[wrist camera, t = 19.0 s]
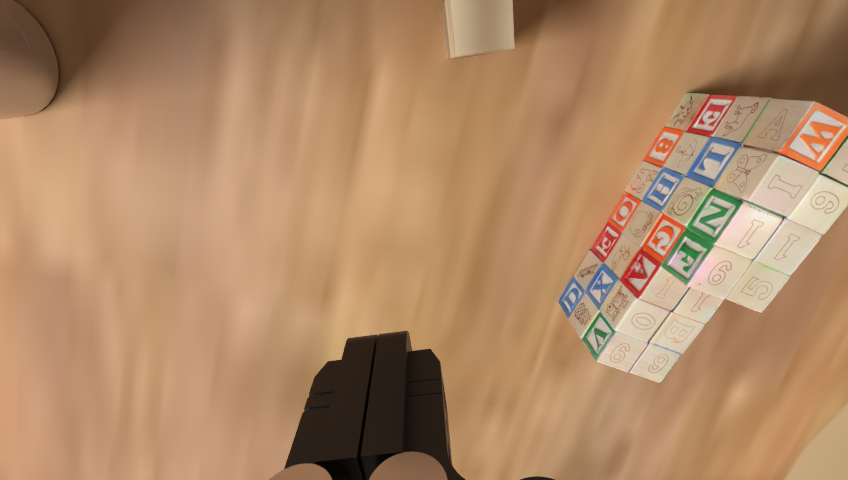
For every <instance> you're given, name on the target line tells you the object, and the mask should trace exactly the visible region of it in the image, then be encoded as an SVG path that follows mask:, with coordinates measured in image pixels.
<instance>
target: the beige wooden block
mask: <svg viewBox="0 0 848 480" xmlns="http://www.w3.org/2000/svg"><path fill="white" fill-rule="evenodd" d="M442 19H443V29H444V39H445V49H446V59H447V60H448V59H456V58H463V57H470V56H477V55H484V54H491V53H496V52H501V51H505V50H510V49H515V47H514V23H513V0H445V2H444V5H443V7H442Z"/></svg>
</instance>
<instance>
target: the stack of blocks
mask: <svg viewBox="0 0 848 480" xmlns="http://www.w3.org/2000/svg"><path fill="white" fill-rule="evenodd" d="M847 206H848V117H846V116H844V115H842V114H840V113H838V112H836V111H834V110H832V109H830V108H828V107H826V106H824V105H822V104H820V103H818V102H815V101H804V100H787V99H775V98H772V97H753V96H731V95H709V94H701V93H686V94H685V95H684V97H683V98H682V100H681V102H680V103H679V105H678V107H677V108H676V110H675V111H674V113H673V115H672V116H671V118H670V119H669V121H668V123H667V124H666V126H665V127H664V128H663V129H662V131H661V132H660V134H659V136H658V137H657V139H656V140H655V142H654V144H653V145H652V147H651V149H650V150H649V152H648V153H647V155H646V157H645V158H644V161H643V162H642V163H641V165H640V166H639V168H638V169H637V171H636V173H635V174H634V176H633V178H632V179H631V181H630V183H629V184H628V186H627V187H626V189H625V193H624V195H623V196H622V198H621V200H620V201H619V203H618V205H617V206H616V208H615V210H614V211H613V213H612V215H611V216H610V218H609V219H608V223H607V224H606V226H605V227H604V229H603V230H602V232H601V233H600V235H599V237H598V239H597V240H596V242H595V243H594V245H593V247H592V249H591V250H590V251H588V253H587V255H586V256H585V258H584V260H583V261H582V263H581V265H580V266H579V268H578V270H577V271H576V273H575V275H574V277H573V278H572V280H571V281H570V283H569V285H568V286H567V288H566V290H565V291H564V293H563V295H562V296H561V298H560V300H559V304H560V305H561V307H562V309H563V311H564V312H565V314H566V316H567V317H568V318H569V321H570V323H571V324H572V326H573V327H574V329H575V331H576V332H577V334H578V336H579V337H580V338H581V339H582V340H583V342H584V343H585V345H586V347H587V348H588V350H589V351H590V353H591V354H592V356H593V357H594V359H595V361H597V362H599V363H602V364H605V365H608V366H611V367H614V368H616V369H619V370H622V371H625V372H630V373H632V374H635V375H638V376H641V377H644V378H647V379H649V380H653V381H655V382H658V383H660V382H661V381H662V380H663V379H664V377H665V376H666V375H667V373H668V372H669V370H670V369H671V368H672V367H673V365H674V364H675V363H676V361H677V360H678V359H679V357H680V354H683V353H684V352H685V351H686V349H687V348H688V347H689V345H690V344H691V343H692V341H693V340H694V339H695V337H696V336H697V335H698V333H699V332H700V331H701V330H702V328H703V327H704V324H705V323H707V322H708V321H709V320H710V318H711V317H712V315H713V314H714V313H715V311H716V310H717V309H718V307H719V306H720V304H721V303H722V302H723V300H724V299H726V300H729V301H731V302H734V303H737V304H739V305H741V306H744V307H747V308H749V309H751V310H754V311H756V312H759V313H762V312H763V310H764V309H765V308H766V307H767V306H768V304H769V303H770V302H771V301H772V300H773V298H774V297H775V296H776V294H777V293H778V292H779V291H780V290H781V288H782V287H783V286H784V284H785V283H786V282H787V281H788V279H789V278H790V275H791V274H792V273H793V272H794V271H795V270H796V269H797V268H798V267H799V265H800V264H801V263H802V261H803V260H804V259H805V258H806V256H807V255H808V254H809V252H810V251H811V250H812V249H813V248H814V246H815V245H816V244H817V242H818V241H819V240H820V238H821V236H822V235H824V234H825V233H826V232H827V231H828V229H829V228H830V227H831V226H832V224H833V223H834V222H835V220H836V219H837V218H838V217H839V216H840V214H841V213H842V212H843V211H844V210H845V208H846V207H847Z"/></svg>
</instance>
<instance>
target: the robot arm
mask: <svg viewBox="0 0 848 480" xmlns="http://www.w3.org/2000/svg"><path fill="white" fill-rule="evenodd" d="M58 76H59V71H58V63H57V58H56V55H55V52H54V49H53V46H52V44H51V42H50V40H49V38H48V37H47V35H46V33H45V31H44V30H43V29H42V27H41V26H40V25H39V23H38V22H37V20H36V19H35V18H34V17H33V16H32V15H31V14H30V13H29V12H28V11H27V10H26V9H25V8H24V7H22V6H21V5H20V4H18V3H17V2H16V1H14V0H0V119H7V118H15V117H22V116H29V115H32V114H34V113H37V112H39V111H41V110H42V109H43V108H45V107H46V106H47V105H48V104H49V103H50V101H51V100H52V98H53V97H54V95H55V92H56V89H57V86H58ZM304 410H305V411H304V412H303V414H302V417H301V420H300V423H299V426H298V429H297V432H296V435H295V438H294V441H293V444H292V447H291V450H290V453H289V456H288V459H287V462H286V465H285V468H284V470H282V471H281V472H279V473H277V474H276V475H274V476H273V477H272V478H271V479H270V480H465V479H464V478H463V477H461V476H460V475H459V474H458V473H457V472H456V470H455V469H454V468H453V466H452V459H451V448H450V436H449V425H448V414H447V406H446V399H445V392H444V385H443V379H442V372H441V365H440V361H439V360H438V358H437V357H436V356H435V354H434V353H433V352H432V350H431V349H425V350H417V351H412V348H411V342H410V337H409V333H408V331H402V332H394V333H386V334H379V335H370V336H362V337H354V338H348V339H347V341H346V345H345V348H344V352H343V356H342V360H336V361H328V362H327V363H326V364H325V365H324V367H323V368H322V369H321V370H320V371H319V373H318V374H317V375H316V376H315V378H314V381H313V384H312V387H311V390H310V393H309V397H308V399H307V402H306V405H305V408H304ZM521 480H554V479H551V478H546V477H528V478H524V479H521Z"/></svg>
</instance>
